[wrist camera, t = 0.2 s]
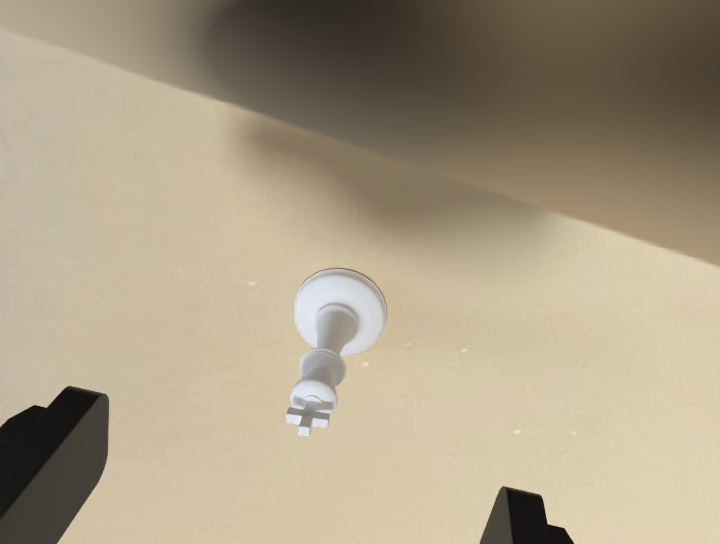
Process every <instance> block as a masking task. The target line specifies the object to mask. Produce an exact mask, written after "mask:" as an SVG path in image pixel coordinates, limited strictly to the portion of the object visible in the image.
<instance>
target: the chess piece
mask: <svg viewBox="0 0 720 544" xmlns="http://www.w3.org/2000/svg"><path fill="white" fill-rule="evenodd" d="M386 317H387V309H386V304H385V301H384V298H383V296H382V294H381V292H380V291H379V289H378V288H377V287H376V286H375V284H374V283H372V282H371V281H370V280H369V279H368V278H366V277H364V276H363V275H361V274H359V273H356V272H354V271H350V270H345V269H329V270H324V271H321V272H318V273H316V274H314V275H313V276H311V277H310V278H308V279H307V280H306V281H305V282H304V283H303V284H302V285H301V287H300V288H299V290H298V292H297V295H296V298H295V303H294V320H295V324H296V327H297V329H298V331H299V332H300V334H301V335H302V337H303V338H304V339H305V340H306V341H307V342H308V343H309V344H310V345H311V346H313V347H314V348H316V349H312V350H310V351H308V352H307V353H306V354H305V355H304V356H303V357H302V359H301V361H300V372H301V376H302V379H301V380H300V381H298V382H297V383H296V384H295V386H294V387H293V388H292V390H291V394H290V402H291V405H292V407H293V408H290V407H289V408H288V411H287V415H286V423H293V424H299V431H298V435H303V436H309V435H310V432H311V428H312V426H313V427H319V428H326V429H327V428H328V424H329V417H330V415H331V414H332V413H333V412H334V410H335V409H336V406H337V394H336V390H335V387H336V386H338V385H339V384H340V383H341V382H342V381H343V379H344V378H345V375H346V365H345V362H344V360H343V359H342V358H341V356H347V355H353V354H357V353H360V352H362V351H364V350H366V349H367V348H369V347H370V346H371V345H373V344H374V343H375V341H376V340H377V339H378V338H379V336H380V334H381V332H382V330H383V328H384V326H385V322H386Z"/></svg>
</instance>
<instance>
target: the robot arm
mask: <svg viewBox="0 0 720 544" xmlns="http://www.w3.org/2000/svg"><path fill="white" fill-rule="evenodd" d="M108 423H109V399H108V396H107V395H106V394H103V393H99V392H95V391H90V390H86V389H81V388H77V387H73V386H68V387H66V388H65V389H64V390H63V391H62V392H61V393H60V394H59V395H58V396H57V397H56V398H55V400H54V401H53V402H52V403H51V404H50V405H49V406H48V407H47V408H45V407H40V406H36V405H34V406H32V407H30V408H28V409H26V410H24V411H22V412H21V413H19V414H17V415H15V416H13V417H11V418H9V419H8V420H7V421H6V422H5V423H4V424H3V425H2V426H1V427H0V544H57V543H58V541H59V540H60V538H61V537H62V535H63V534H64V532H65V531H66V529H67V528H68V526H69V525H70V523H71V522H72V521H73V519H74V518H75V516H76V515H77V513H78V512H79V510H80V509H81V507H82V506H83V504H84V503H85V501H86V500H87V498H88V497H89V495H90V494H91V492H92V491H93V489H94V488H95V486H96V485H97V483H98V482H99V480H100V478H101V475H102V473H103V470H104V468H105V464H106V460H107V455H108ZM480 544H574V543H573V541H572V540H571V538H570V536H569V535H568V533H567V532H566V530H565V529H564V528H561V527H557V526H552V525H548V524H547V519H546V514H545V508H544V503H543V499H542V497H541V495H539V494H535V493H531V492H526V491H522V490H518V489H513V488H509V487H505V486H503V487H501V489H500V490H499V493H498V495H497V498H496V500H495V503H494V506H493V508H492V511H491V514H490V517H489V519H488V522H487V525H486V527H485V530H484V533H483V535H482V538H481V541H480Z"/></svg>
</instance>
